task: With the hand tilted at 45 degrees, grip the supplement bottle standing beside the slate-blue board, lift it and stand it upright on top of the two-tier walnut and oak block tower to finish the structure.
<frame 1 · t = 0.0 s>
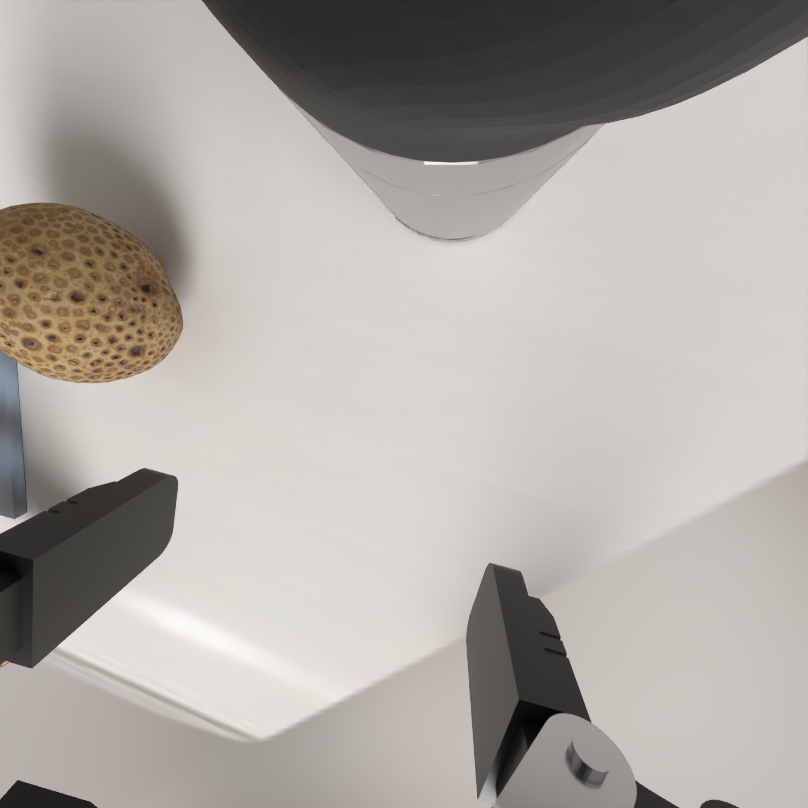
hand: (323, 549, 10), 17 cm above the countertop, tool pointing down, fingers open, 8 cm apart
natural sponge: (155, 295, 27), on the countertop
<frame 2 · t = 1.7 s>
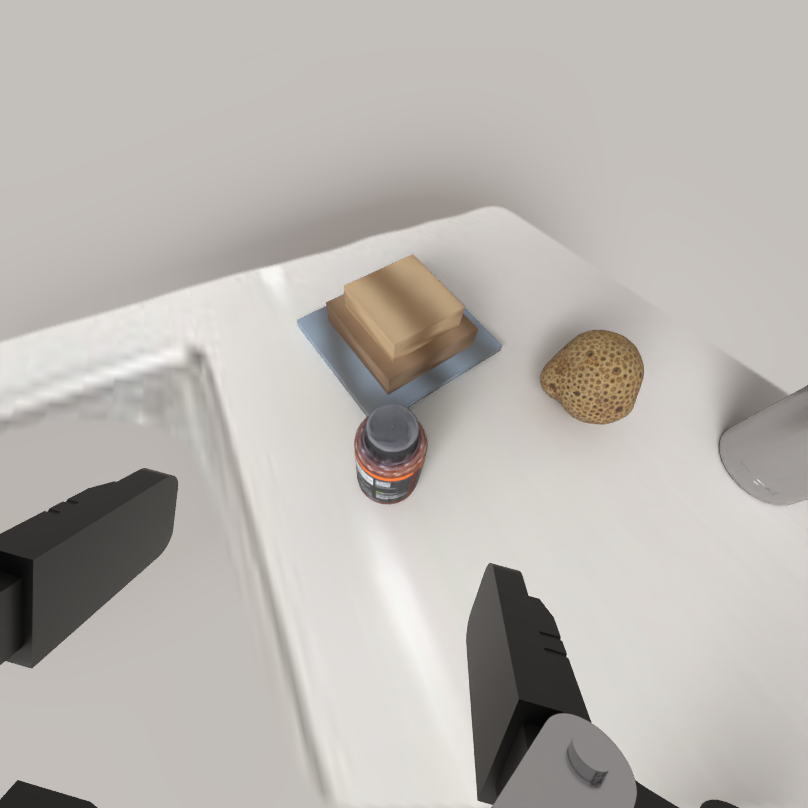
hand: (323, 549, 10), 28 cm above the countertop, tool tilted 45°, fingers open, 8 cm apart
block tower: (399, 338, 48), on the countertop
natural sponge: (571, 404, 46), on the countertop
supplement bottle: (387, 476, 40), on the countertop
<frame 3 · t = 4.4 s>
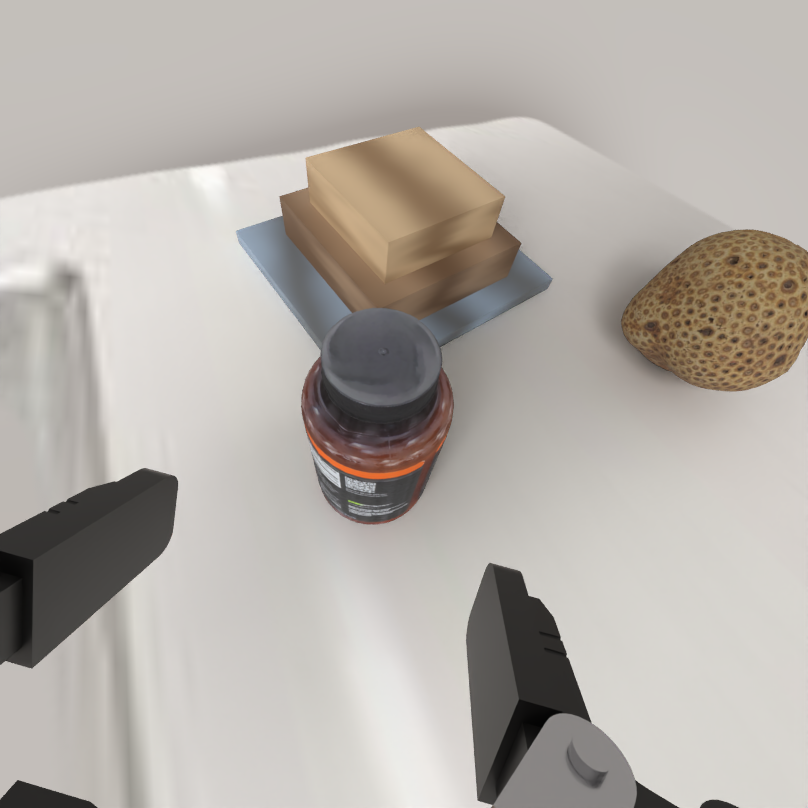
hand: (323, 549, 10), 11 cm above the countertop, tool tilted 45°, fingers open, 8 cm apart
block tower: (395, 265, 31), on the countertop
natural sponge: (663, 367, 29), on the countertop
supplement bottle: (371, 475, 23), on the countertop
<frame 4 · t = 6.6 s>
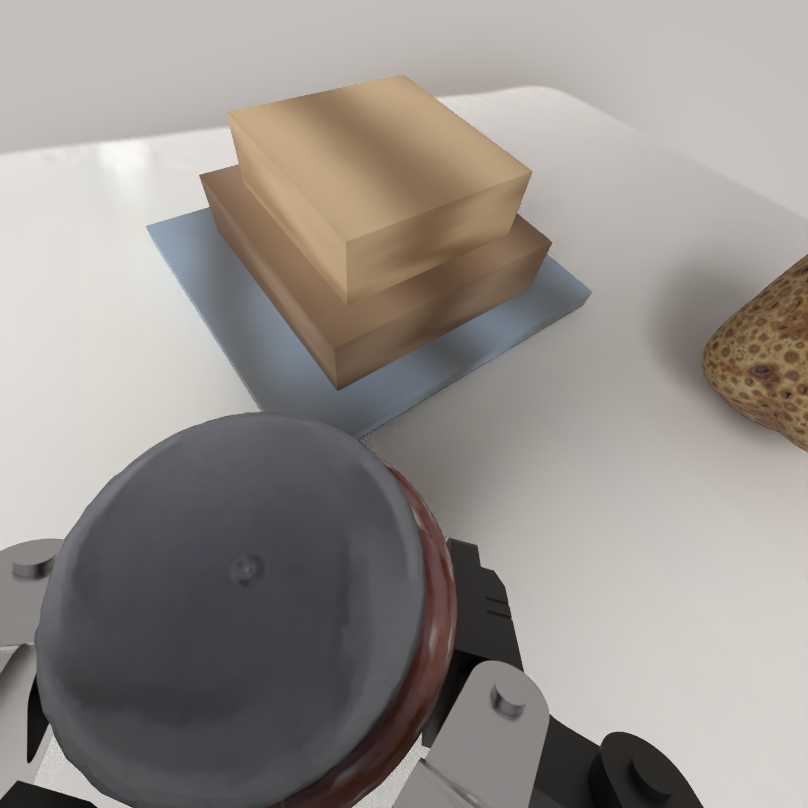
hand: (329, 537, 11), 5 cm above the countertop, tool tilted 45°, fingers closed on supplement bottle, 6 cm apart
block tower: (373, 274, 23), on the countertop
natural sponge: (753, 419, 21), on the countertop
supplement bottle: (322, 618, 14), on the countertop, touching gripper
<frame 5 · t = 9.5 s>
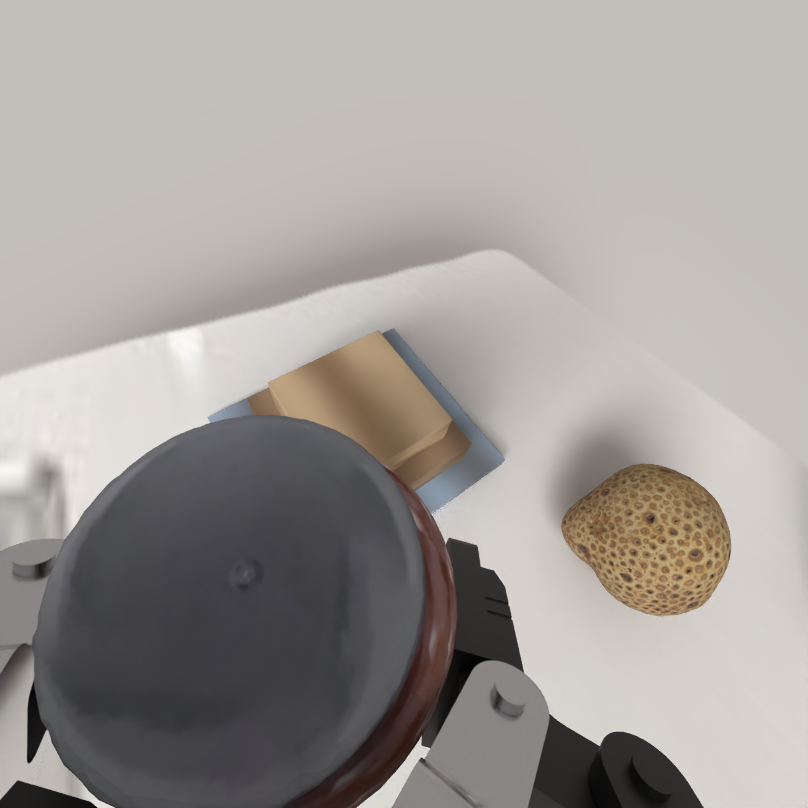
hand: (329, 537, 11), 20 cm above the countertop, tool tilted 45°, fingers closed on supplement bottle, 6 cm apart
block tower: (358, 443, 34), on the countertop
natural sponge: (604, 553, 32), on the countertop
supplement bottle: (321, 620, 14), point 15 cm above the countertop, touching gripper
when the fingers open (13 cm above the countertop, at t = 12.4 s): supplement bottle drops 1 cm, resting on block tower.
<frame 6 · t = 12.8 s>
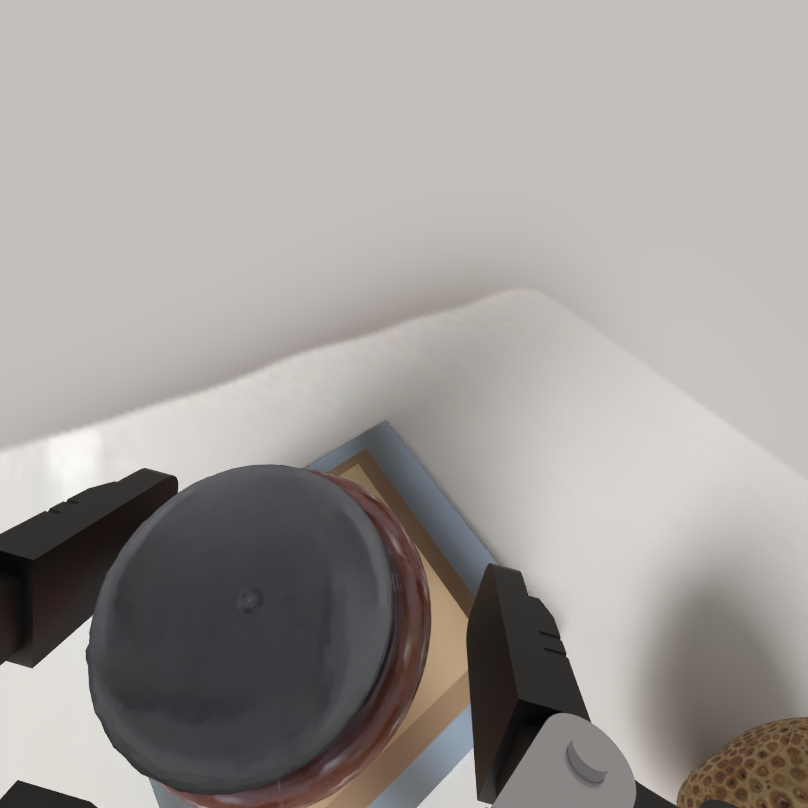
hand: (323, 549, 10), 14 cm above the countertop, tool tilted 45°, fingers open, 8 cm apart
block tower: (332, 625, 21), on the countertop
supplement bottle: (320, 624, 15), point 7 cm above the countertop, touching block tower
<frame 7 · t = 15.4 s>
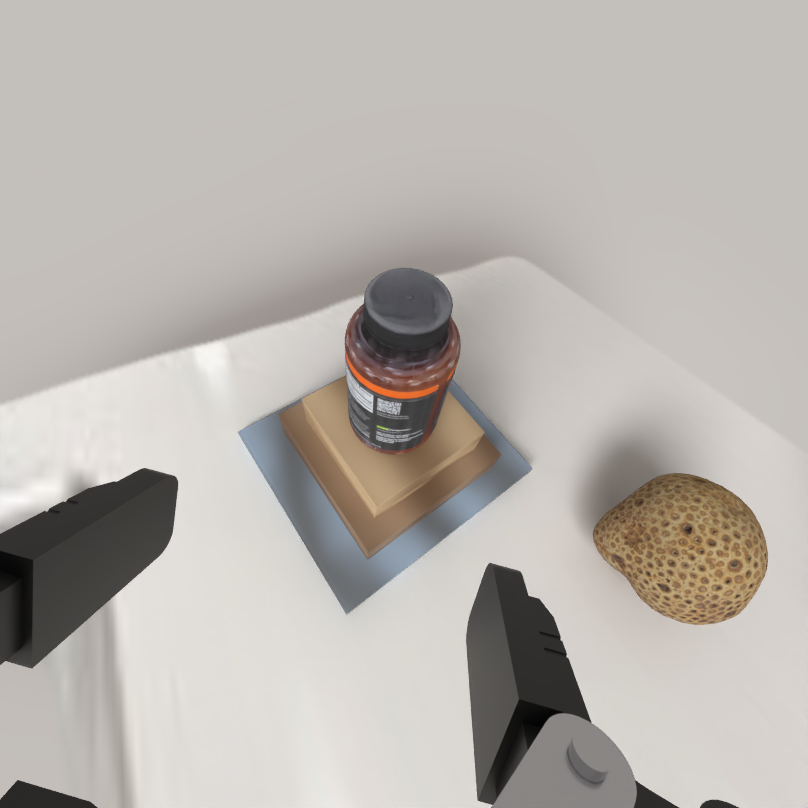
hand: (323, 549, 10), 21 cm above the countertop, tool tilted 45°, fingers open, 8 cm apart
block tower: (386, 455, 34), on the countertop
natural sponge: (633, 560, 32), on the countertop
supplement bottle: (391, 418, 28), point 7 cm above the countertop, touching block tower
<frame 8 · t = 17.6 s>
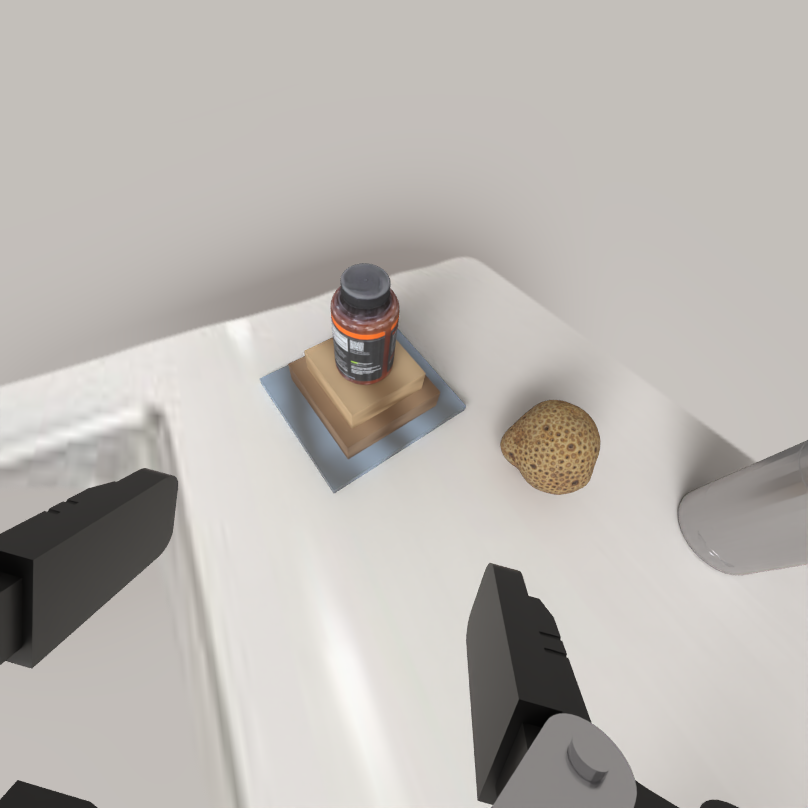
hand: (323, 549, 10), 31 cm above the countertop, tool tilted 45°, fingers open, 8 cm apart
block tower: (363, 396, 48), on the countertop
natural sponge: (533, 467, 46), on the countertop
supplement bottle: (363, 364, 42), point 7 cm above the countertop, touching block tower
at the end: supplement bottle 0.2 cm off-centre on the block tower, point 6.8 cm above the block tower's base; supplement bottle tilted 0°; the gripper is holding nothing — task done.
